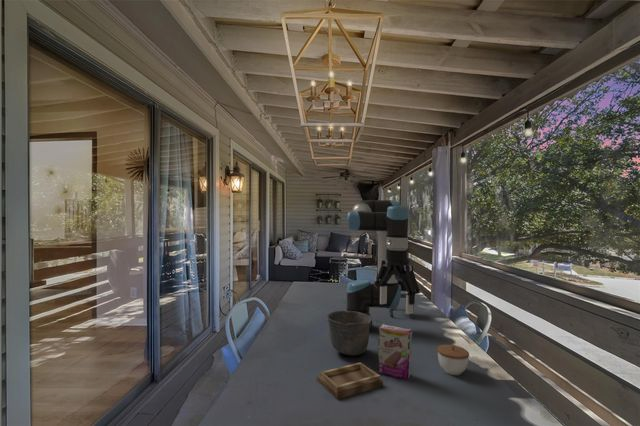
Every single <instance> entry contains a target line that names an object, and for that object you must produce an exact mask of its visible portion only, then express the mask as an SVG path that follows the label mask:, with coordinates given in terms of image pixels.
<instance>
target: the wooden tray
mask: <svg viewBox="0 0 640 426" xmlns="http://www.w3.org/2000/svg"><path fill="white" fill-rule="evenodd" d="M316 381H317V382H318V383H319V384H320V385H321V386H322V387H323V388H324V389H325V390H327V391H328V392H329V393H330V394H331V395H332V396H333V397H334V399H336V400H340V399H344V398H346V397H347V398H348V397H349V396H354V395H356V394H359V393H360V394H361V393H363V392H367V391H370V390H374V389H376V388H380V387H383V386H384V381H383V380H382V379H381V375H380V374H379V373H378V372H376V371H374V370H373V369H371V368H369V367H368V366H366V365H365V364H364V363H362V362H361V361H360V362H357V363H352V364H348V365H344V366H340V367H336V368H332V369H327V370H323V371H320V372H319V374H318V375H316Z"/></svg>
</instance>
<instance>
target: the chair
mask: <svg viewBox="0 0 640 426" xmlns="http://www.w3.org/2000/svg"><path fill="white" fill-rule="evenodd" d="M396 280H397V279H396ZM397 281H398V285H400V286H401V292H407V291H406V289H405V287H404V285H403V283H402V281H401V280H397ZM410 291H411V290H410ZM407 294H408V293H401V297H400V299H406V295H407ZM393 311H405V312H406V308H401V307H400V308H398V307H397V308H389V316H390V317H393ZM414 316H415V303H414V304H413V314H410V317H411V319H414Z"/></svg>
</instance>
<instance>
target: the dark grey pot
mask: <svg viewBox="0 0 640 426" xmlns="http://www.w3.org/2000/svg"><path fill="white" fill-rule="evenodd" d="M326 316H327V321H328V327H329V334H330V335H329V336H330V342H331V345H332V347H333V348H334V349H335V350H336V351H337V352H339V353H341V354H342V355H346V356H351V357H352V356H353V357H355V356H360V355H361V354H364V353H365V352H366V350H367V349H368V346H369V342H370V341H369V340H370V339H369V338H370V331H369V329H370V323H371V320H372V321H373V319H372V316H371V315H370V316H371V317H370V316H368V315H366V314H363V313H360V312H356V311H347V312H346V310H336V311H333V312H329V313H328V314H327V315H326Z"/></svg>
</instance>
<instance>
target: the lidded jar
mask: <svg viewBox="0 0 640 426" xmlns="http://www.w3.org/2000/svg"><path fill="white" fill-rule="evenodd" d="M469 357H470V352H469V351H468V350H467V349H466V348H464V347H462V346H458V345H455V344H441V345H440V344H439V346H438V347H437V359H438V363H439V366H440V367H441V369H442V370H443V371H444V372H445V373H446V374H448V375H452V376H461V374H462V373H463V372H465V371H466V369H467V368H468V365H469Z"/></svg>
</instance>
